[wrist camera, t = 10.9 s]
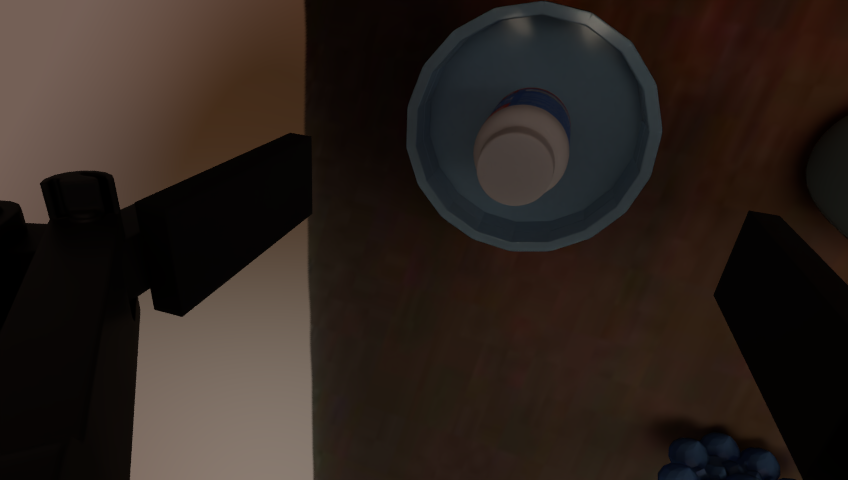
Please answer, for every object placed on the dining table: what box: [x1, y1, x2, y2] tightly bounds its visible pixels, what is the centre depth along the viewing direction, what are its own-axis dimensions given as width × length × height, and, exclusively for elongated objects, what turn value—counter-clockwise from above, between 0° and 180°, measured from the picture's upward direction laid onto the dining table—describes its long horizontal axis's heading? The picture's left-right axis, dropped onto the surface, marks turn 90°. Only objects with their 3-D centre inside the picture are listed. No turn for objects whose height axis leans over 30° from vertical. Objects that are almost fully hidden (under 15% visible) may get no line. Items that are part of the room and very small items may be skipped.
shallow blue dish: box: [406, 1, 662, 251], centre depth 32 cm, size 15×16×4 cm
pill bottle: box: [473, 87, 571, 206], centre depth 30 cm, size 6×5×10 cm
